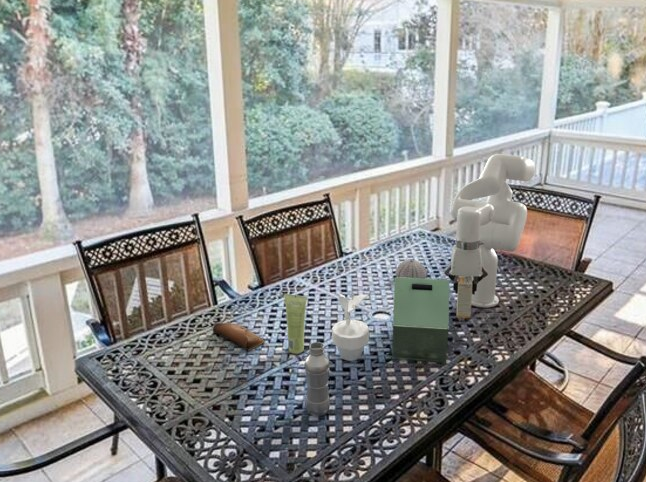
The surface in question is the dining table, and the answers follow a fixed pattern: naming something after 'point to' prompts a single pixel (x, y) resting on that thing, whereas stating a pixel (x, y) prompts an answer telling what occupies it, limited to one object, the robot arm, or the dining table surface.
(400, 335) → the green storage bin
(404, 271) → the sea urchin shell
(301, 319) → the tube
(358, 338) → the potted plant
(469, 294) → the supplement box
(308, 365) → the plastic bottle
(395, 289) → the bin lid
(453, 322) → the dining table surface
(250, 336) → the sunglasses case
